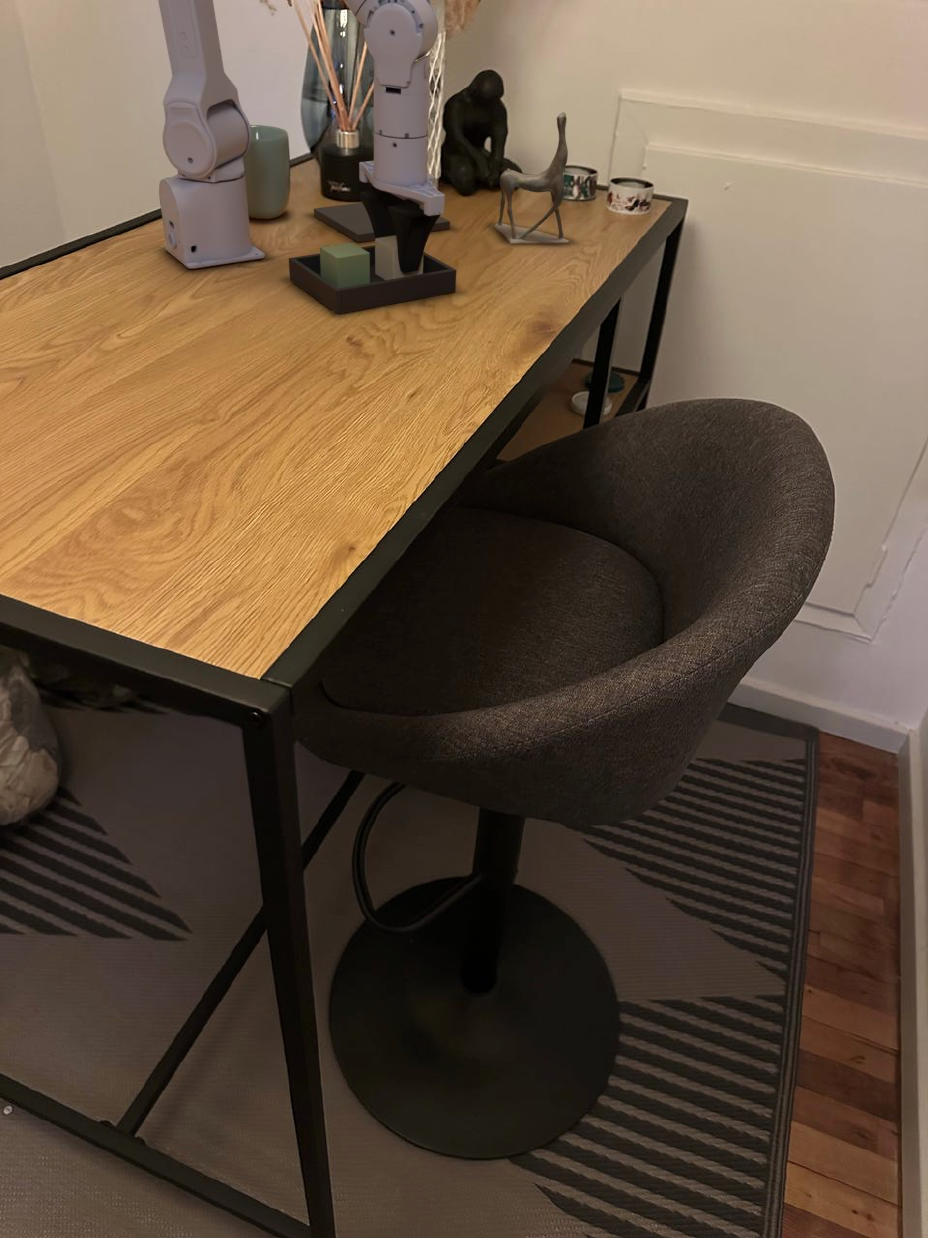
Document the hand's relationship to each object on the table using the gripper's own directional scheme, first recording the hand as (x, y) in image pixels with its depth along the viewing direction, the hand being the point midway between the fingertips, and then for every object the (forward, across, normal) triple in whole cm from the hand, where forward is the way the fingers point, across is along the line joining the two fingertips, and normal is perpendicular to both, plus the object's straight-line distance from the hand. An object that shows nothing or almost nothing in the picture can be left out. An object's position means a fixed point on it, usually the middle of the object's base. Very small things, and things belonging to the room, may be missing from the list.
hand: (399, 264), depth 103 cm
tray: (+2, 0, +4) cm, 4 cm away
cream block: (+1, 0, 0) cm, 1 cm away
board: (+2, +20, -10) cm, 22 cm away
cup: (+2, +29, +4) cm, 29 cm away
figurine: (+2, +7, -24) cm, 25 cm away
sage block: (+1, 0, +7) cm, 7 cm away
